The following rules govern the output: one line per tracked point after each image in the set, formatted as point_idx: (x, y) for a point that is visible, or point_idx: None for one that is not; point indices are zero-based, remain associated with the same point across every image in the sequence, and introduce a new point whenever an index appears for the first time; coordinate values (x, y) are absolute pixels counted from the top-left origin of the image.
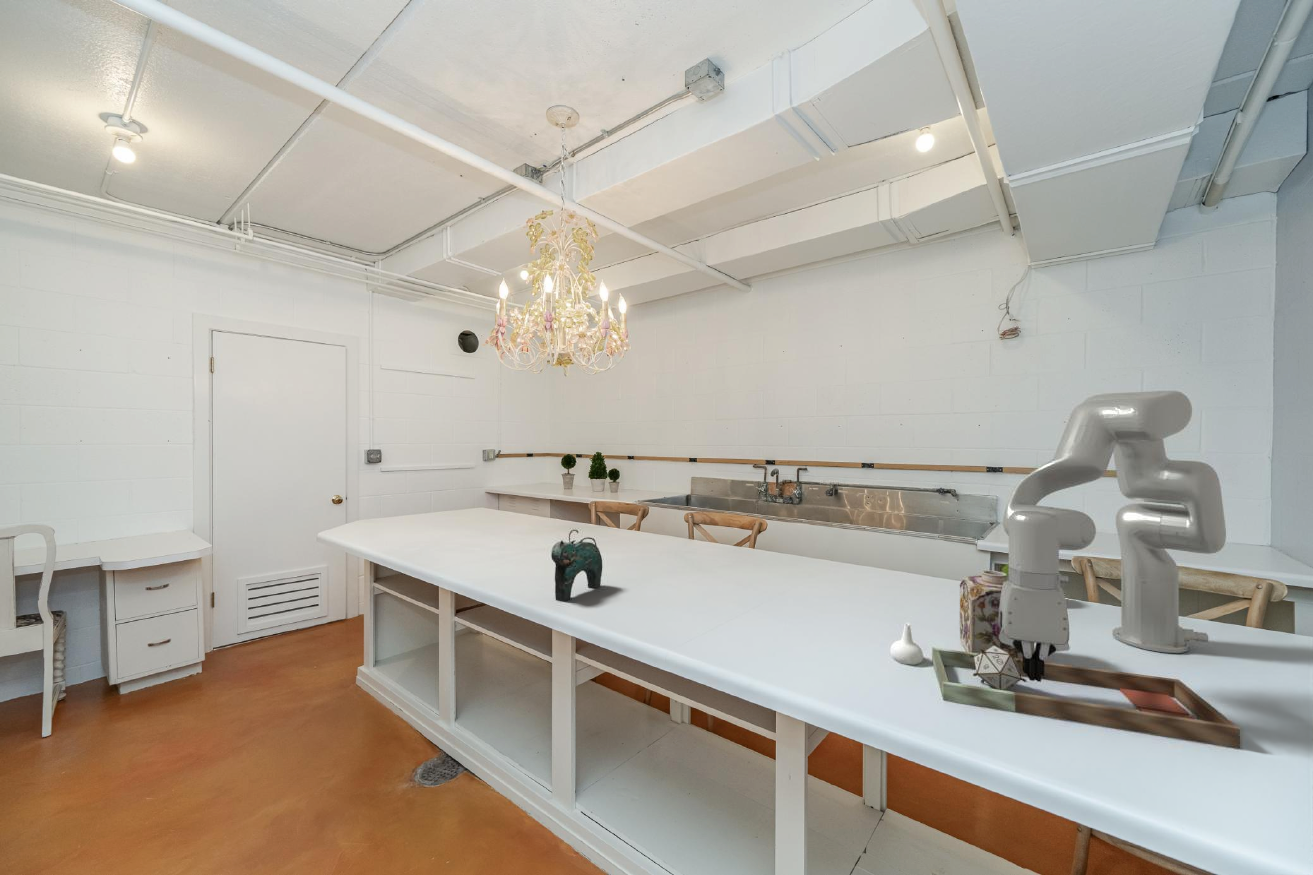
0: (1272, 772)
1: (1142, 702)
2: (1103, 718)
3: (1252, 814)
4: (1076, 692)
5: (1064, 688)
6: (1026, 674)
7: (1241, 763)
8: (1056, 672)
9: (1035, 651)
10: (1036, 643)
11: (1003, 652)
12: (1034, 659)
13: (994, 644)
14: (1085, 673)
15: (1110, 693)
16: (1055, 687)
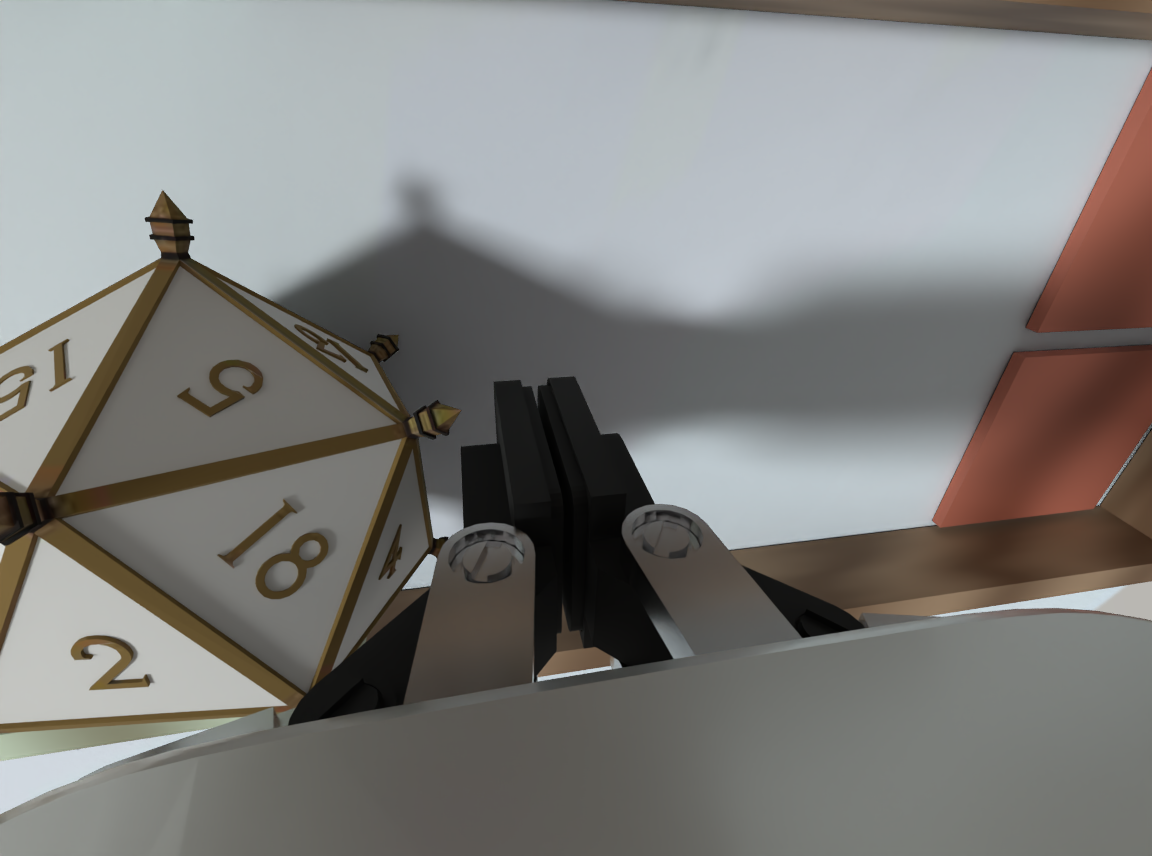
0: None
1: (1110, 269)
2: None
3: None
4: (823, 220)
5: (776, 173)
6: (494, 397)
7: (1012, 603)
8: (840, 3)
9: (616, 589)
10: (677, 640)
11: (223, 686)
12: (559, 629)
13: (36, 528)
14: (1079, 15)
15: (1046, 145)
16: (718, 179)
